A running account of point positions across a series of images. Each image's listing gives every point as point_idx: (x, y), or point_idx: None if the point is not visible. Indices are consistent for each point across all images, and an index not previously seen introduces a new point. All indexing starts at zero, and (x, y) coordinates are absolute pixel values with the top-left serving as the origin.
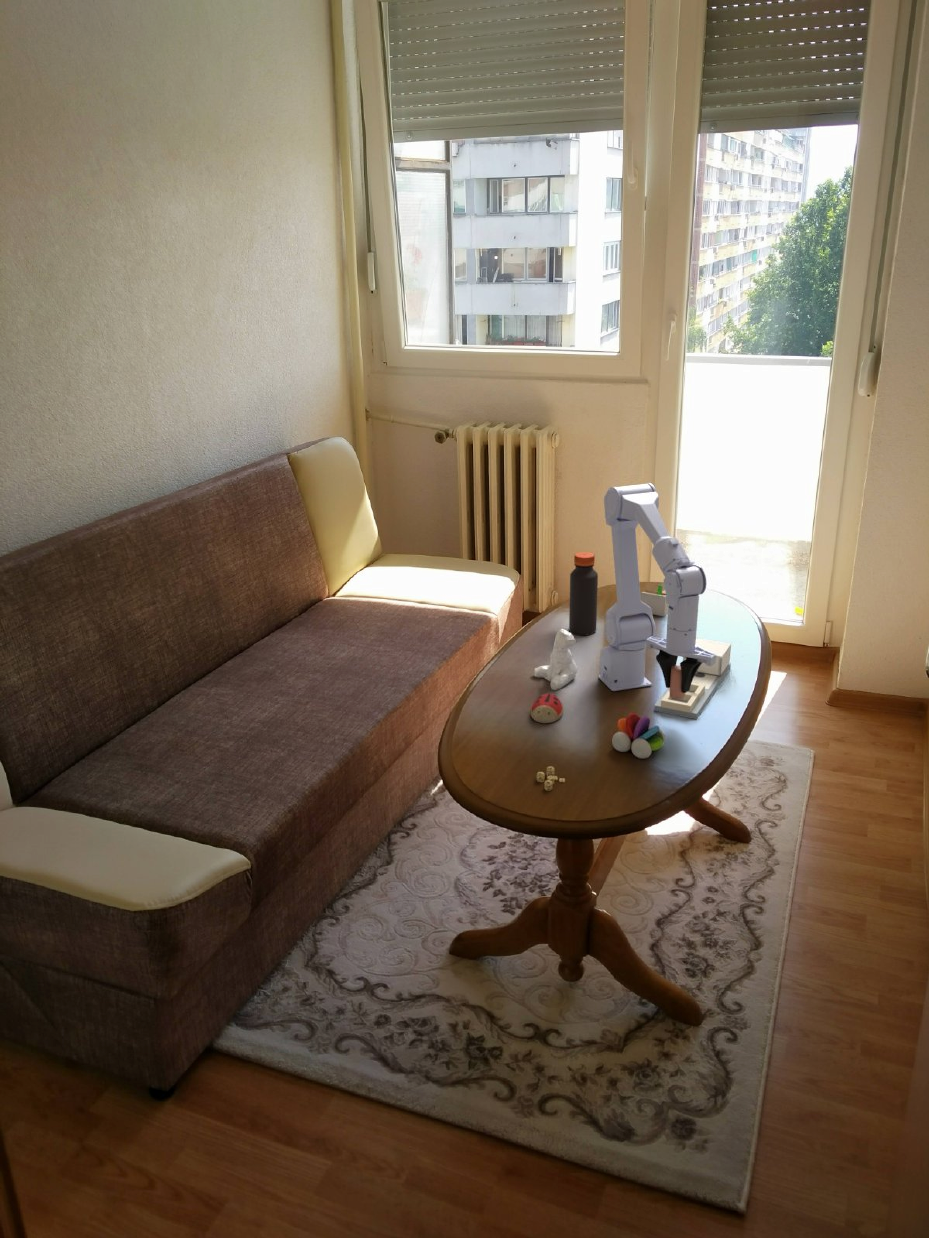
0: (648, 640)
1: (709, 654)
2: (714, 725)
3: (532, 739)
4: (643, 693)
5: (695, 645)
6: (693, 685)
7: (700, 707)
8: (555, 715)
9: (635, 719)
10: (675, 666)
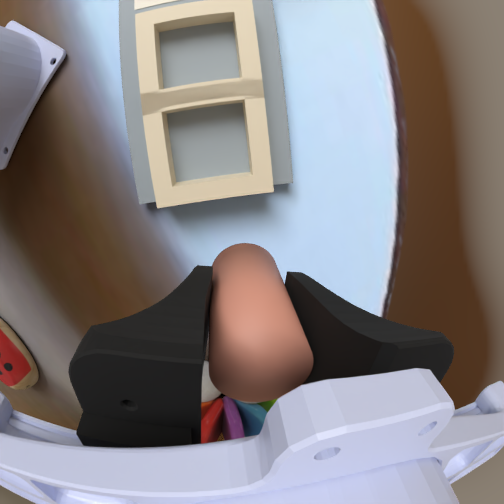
0: (4, 484)
1: (499, 446)
2: (347, 191)
3: (68, 418)
4: (66, 112)
5: (449, 451)
6: (210, 15)
7: (286, 130)
8: (32, 375)
9: (211, 439)
10: (226, 357)
